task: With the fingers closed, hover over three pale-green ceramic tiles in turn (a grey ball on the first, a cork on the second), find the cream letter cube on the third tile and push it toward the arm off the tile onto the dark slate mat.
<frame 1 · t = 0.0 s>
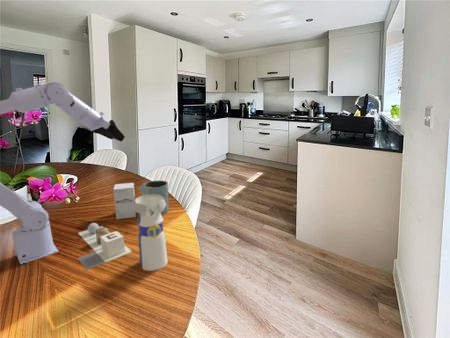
hand: (118, 138, 93), 32 cm above the table, tool tilted 50°, fingers open, 7 cm apart
tile set: (103, 242, 88), on the table
supplement box: (126, 215, 109), on the table
letter cube: (113, 251, 82), resting on tile set
cream belted figurine: (155, 264, 76), on the table
cork: (103, 241, 88), resting on tile set
grey plant pot: (157, 211, 113), on the table
slate mat: (91, 261, 78), on the table
grey ball: (93, 232, 94), resting on tile set
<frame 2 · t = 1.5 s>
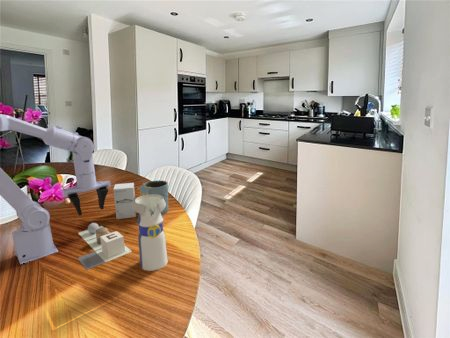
hand: (90, 211, 92), 8 cm above the table, tool pointing down, fingers open, 6 cm apart
nothing on the table moved.
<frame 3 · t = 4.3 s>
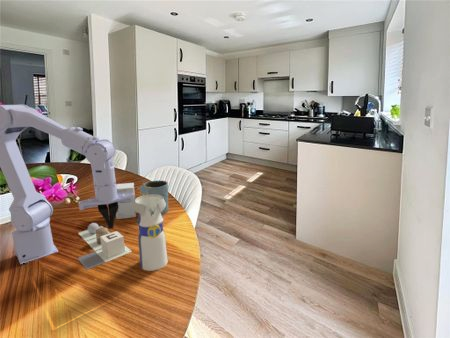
hand: (110, 227, 80), 8 cm above the table, tool pointing down, fingers closed
nothing on the table moved.
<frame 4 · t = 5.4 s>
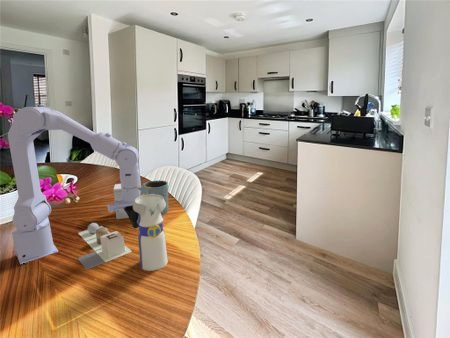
hand: (135, 226, 86), 6 cm above the table, tool pointing down, fingers closed
nothing on the table moved.
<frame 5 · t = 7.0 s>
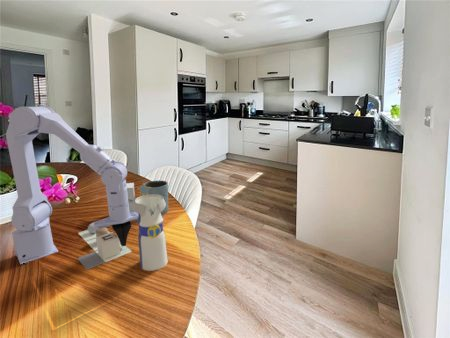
hand: (123, 244, 84), 1 cm above the table, tool pointing down, fingers closed
letter cube: (109, 252, 81), resting on tile set, touching gripper
everything else where it was.
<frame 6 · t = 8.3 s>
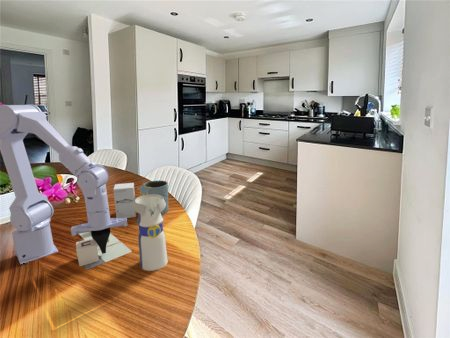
hand: (103, 251, 80), 1 cm above the table, tool pointing down, fingers closed
letter cube: (88, 259, 78), resting on slate mat, touching gripper
everything else where it was.
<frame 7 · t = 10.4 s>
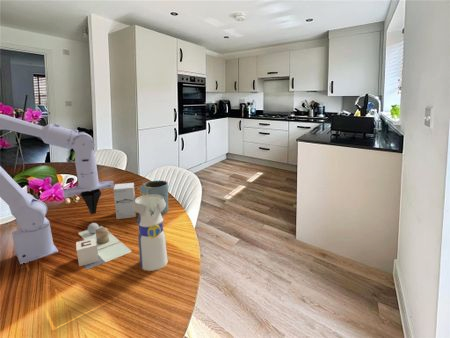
hand: (92, 212, 87), 10 cm above the table, tool pointing down, fingers closed
letter cube: (88, 259, 78), resting on slate mat, touching tile set
everything else where it was.
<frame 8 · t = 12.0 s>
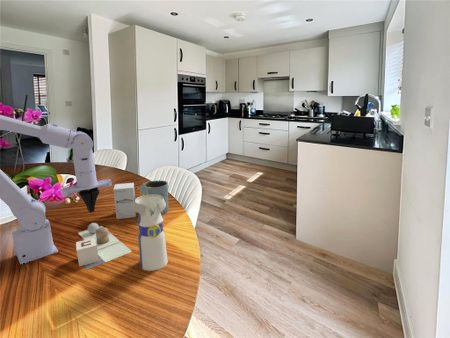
hand: (91, 211, 88), 10 cm above the table, tool pointing down, fingers closed
nothing on the table moved.
at the end: letter cube inside the target area on the slate mat (1.0 cm from its centre), point 0.4 cm above the slate mat's base; letter cube tilted 0°; letter cube moved 7.0 cm from its start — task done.
